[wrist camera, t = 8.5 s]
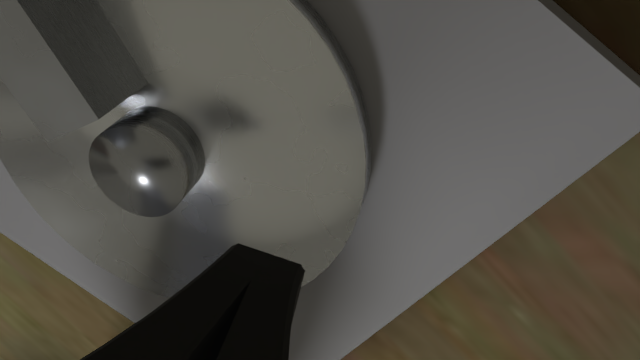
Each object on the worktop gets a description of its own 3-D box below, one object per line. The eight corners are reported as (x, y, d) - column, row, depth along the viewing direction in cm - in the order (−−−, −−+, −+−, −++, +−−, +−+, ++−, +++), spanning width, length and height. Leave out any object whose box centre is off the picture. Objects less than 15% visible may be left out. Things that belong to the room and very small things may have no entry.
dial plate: (281, 381, 27) (268, 415, 25) (-88, 128, 24) (-128, 148, 23) (650, 84, 16) (667, 112, 14) (37, -444, 13) (-25, -482, 11)
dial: (435, 246, 18) (424, 329, 15) (142, 312, 23) (91, 381, 21) (96, -480, 11) (-52, -597, 8) (-205, -141, 17) (-358, -134, 14)
